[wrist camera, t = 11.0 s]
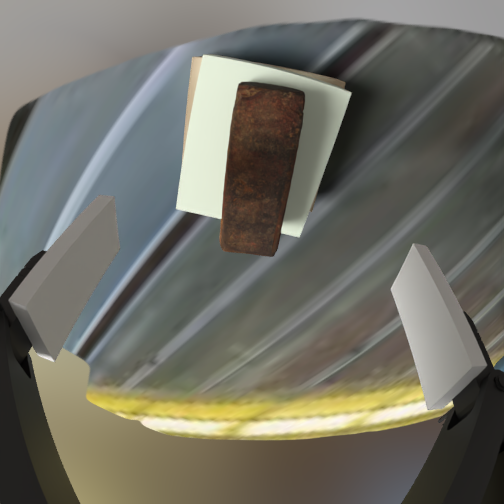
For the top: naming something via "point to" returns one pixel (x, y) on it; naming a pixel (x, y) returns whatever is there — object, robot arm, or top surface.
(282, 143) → the brick
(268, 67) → the top block
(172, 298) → the top surface
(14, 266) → the top surface
